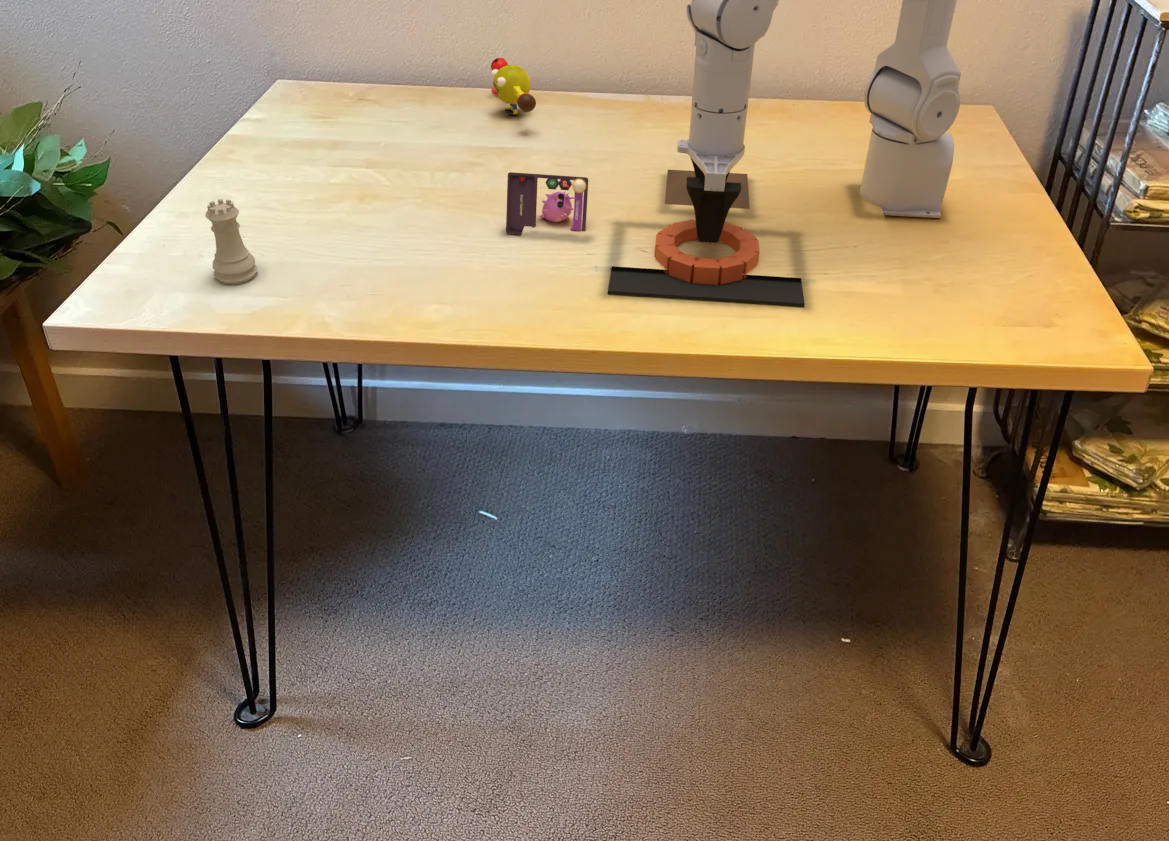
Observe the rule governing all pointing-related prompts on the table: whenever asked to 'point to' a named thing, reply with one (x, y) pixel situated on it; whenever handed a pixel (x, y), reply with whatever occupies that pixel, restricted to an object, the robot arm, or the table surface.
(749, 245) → the ring
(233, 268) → the rook chess piece
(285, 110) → the table surface
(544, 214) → the game card
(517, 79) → the toy figure
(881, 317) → the table surface
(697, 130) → the robot arm
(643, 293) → the tray
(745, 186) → the stand
